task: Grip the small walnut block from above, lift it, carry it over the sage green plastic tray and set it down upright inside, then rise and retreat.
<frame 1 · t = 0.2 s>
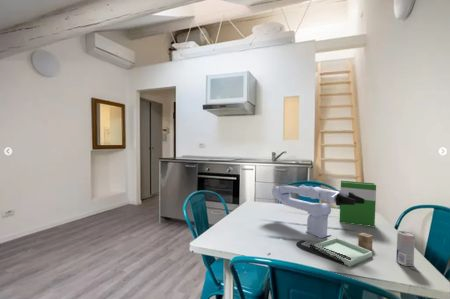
hand: (359, 201, 99), 21 cm above the table, tool horizontal, fingers open, 7 cm apart
hardback book: (356, 222, 135), on the table
walnut block: (365, 248, 102), on the table
tray: (342, 253, 97), on the table
energy drink: (404, 264, 89), on the table
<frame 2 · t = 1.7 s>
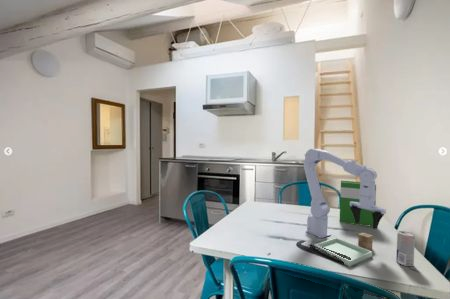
hand: (366, 225, 102), 10 cm above the table, tool pointing down, fingers open, 7 cm apart
nothing on the table moved.
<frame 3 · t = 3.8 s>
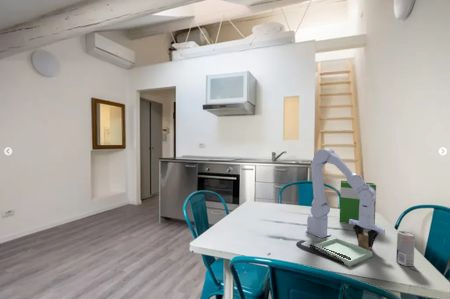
hand: (365, 244, 102), 2 cm above the table, tool pointing down, fingers closed on walnut block, 4 cm apart
walnut block: (365, 247, 102), on the table, touching gripper
everything else where it was.
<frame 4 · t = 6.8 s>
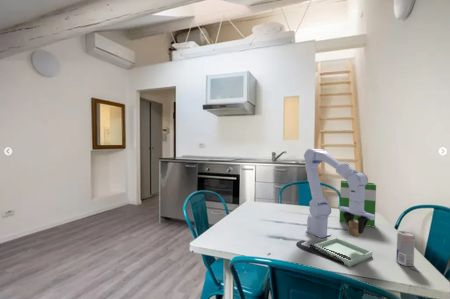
hand: (355, 231, 99), 8 cm above the table, tool pointing down, fingers closed on walnut block, 4 cm apart
walnut block: (355, 235, 99), point 7 cm above the table, touching gripper
everything else where it was.
when the fingers open (3 cm above the table, at t = 10.1 s): walnut block stays where it is, resting on tray.
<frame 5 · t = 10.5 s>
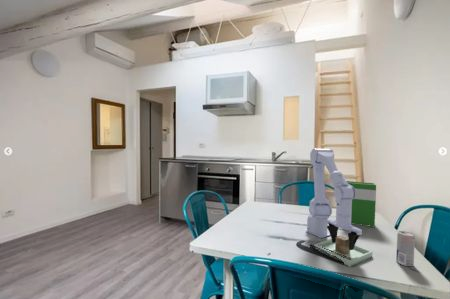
hand: (342, 245, 96), 3 cm above the table, tool pointing down, fingers open, 7 cm apart
walnut block: (342, 251, 97), point 1 cm above the table, touching tray
everything else where it was.
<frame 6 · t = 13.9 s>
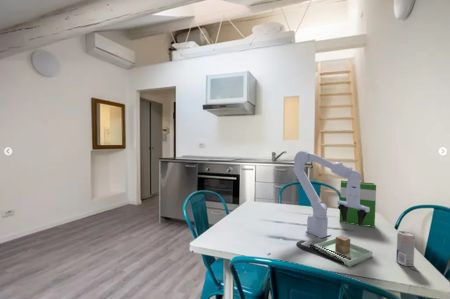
hand: (352, 222, 110), 8 cm above the table, tool pointing down, fingers open, 7 cm apart
nothing on the table moved.
at the end: walnut block inside the target area on the tray (0.1 cm from its centre), point 0.6 cm above the tray's base; walnut block tilted 0°; the gripper is holding nothing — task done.
